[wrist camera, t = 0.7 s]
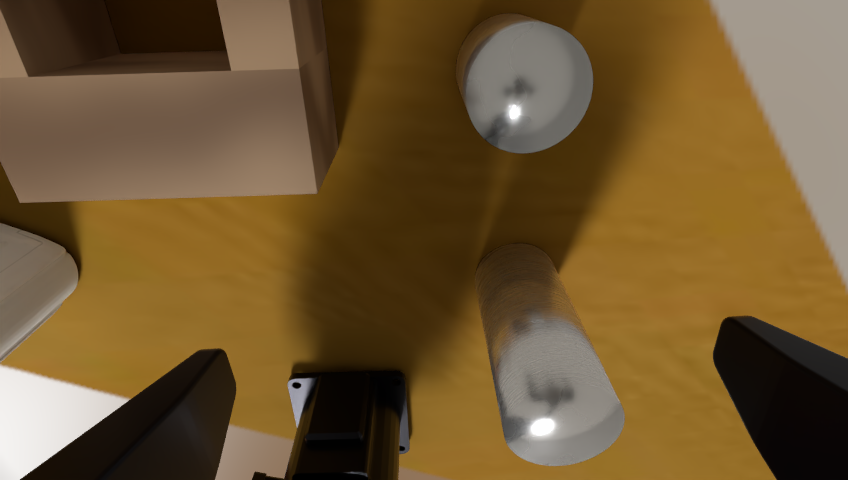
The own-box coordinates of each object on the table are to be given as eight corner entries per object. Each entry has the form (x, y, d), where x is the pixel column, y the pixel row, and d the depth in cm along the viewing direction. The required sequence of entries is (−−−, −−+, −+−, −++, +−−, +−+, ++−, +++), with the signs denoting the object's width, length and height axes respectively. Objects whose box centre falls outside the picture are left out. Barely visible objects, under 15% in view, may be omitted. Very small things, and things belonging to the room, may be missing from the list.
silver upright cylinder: (550, 309, 25) (613, 464, 17) (473, 311, 25) (500, 467, 17) (559, 241, 23) (634, 381, 15) (475, 244, 23) (507, 385, 15)
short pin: (550, 117, 20) (583, 151, 16) (455, 120, 20) (465, 155, 16) (561, 11, 18) (602, 20, 14) (455, 14, 18) (466, 25, 14)
